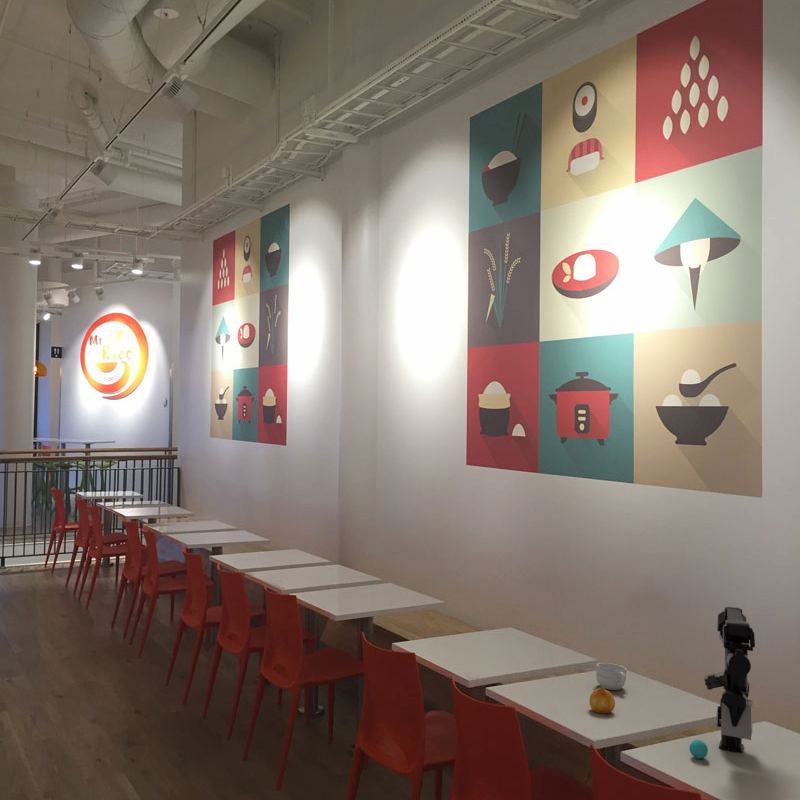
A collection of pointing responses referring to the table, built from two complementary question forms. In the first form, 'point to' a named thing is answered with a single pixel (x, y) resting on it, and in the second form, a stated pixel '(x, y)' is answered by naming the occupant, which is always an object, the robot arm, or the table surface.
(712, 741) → the table surface
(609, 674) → the teacup
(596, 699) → the fruit
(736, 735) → the gray wedge-topped block
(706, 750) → the ball
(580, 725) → the table surface
